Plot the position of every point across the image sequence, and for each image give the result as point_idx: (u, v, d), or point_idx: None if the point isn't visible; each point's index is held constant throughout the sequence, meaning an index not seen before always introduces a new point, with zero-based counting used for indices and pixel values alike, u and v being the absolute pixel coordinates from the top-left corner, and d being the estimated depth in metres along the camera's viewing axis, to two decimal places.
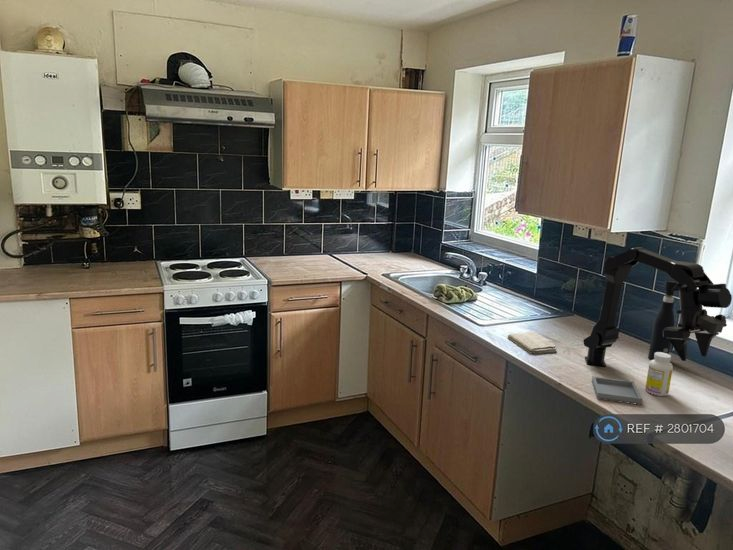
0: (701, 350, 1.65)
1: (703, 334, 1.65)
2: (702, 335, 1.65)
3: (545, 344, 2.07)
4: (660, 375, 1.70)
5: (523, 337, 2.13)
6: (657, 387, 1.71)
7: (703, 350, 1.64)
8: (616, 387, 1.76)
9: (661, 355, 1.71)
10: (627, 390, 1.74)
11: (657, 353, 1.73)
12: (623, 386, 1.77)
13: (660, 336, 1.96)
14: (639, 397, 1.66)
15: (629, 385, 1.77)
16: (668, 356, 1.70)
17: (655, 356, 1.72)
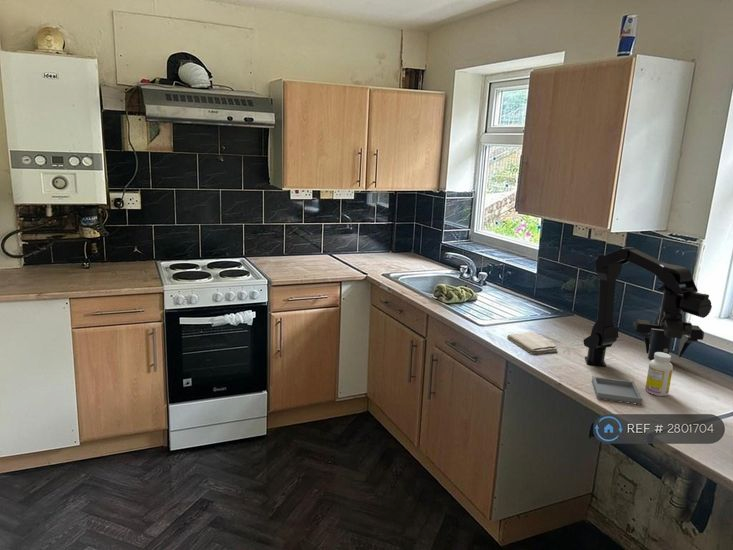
0: (679, 350, 1.71)
1: (684, 337, 1.69)
2: (683, 337, 1.69)
3: (545, 344, 2.07)
4: (660, 375, 1.70)
5: (523, 337, 2.13)
6: (657, 387, 1.71)
7: (679, 351, 1.70)
8: (616, 387, 1.76)
9: (661, 355, 1.71)
10: (627, 390, 1.74)
11: (657, 353, 1.73)
12: (623, 386, 1.77)
13: (660, 336, 1.96)
14: (639, 397, 1.66)
15: (629, 385, 1.77)
16: (668, 356, 1.70)
17: (655, 356, 1.72)
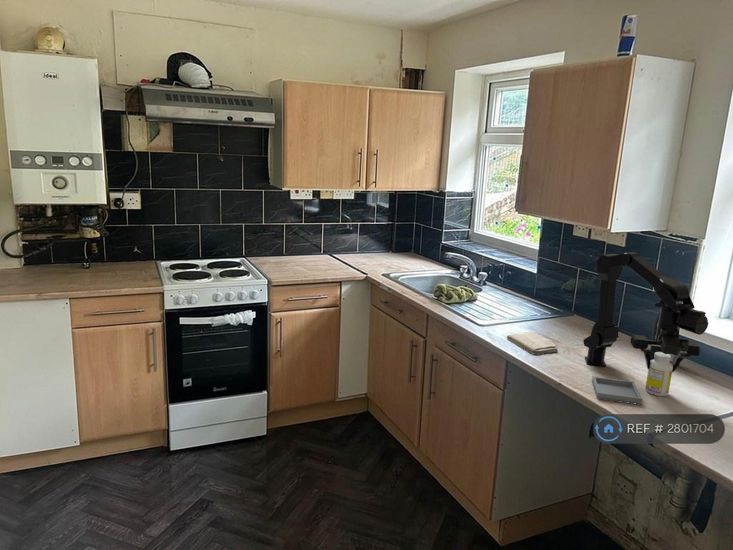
0: None
1: None
2: None
3: (546, 344, 2.07)
4: (660, 375, 1.70)
5: (522, 337, 2.13)
6: (657, 387, 1.71)
7: None
8: (616, 387, 1.76)
9: (661, 355, 1.71)
10: (627, 390, 1.74)
11: (657, 353, 1.73)
12: (623, 386, 1.77)
13: None
14: (639, 397, 1.66)
15: (629, 385, 1.77)
16: (668, 356, 1.70)
17: (655, 356, 1.72)
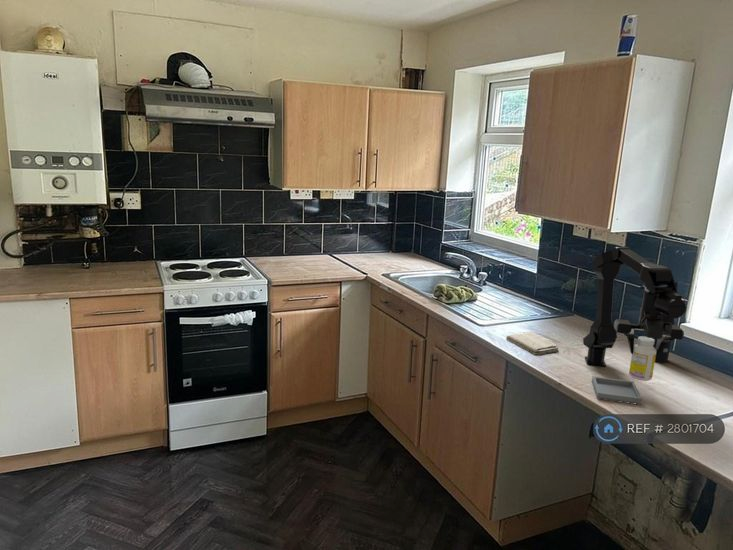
0: None
1: None
2: None
3: (546, 344, 2.07)
4: (643, 360, 1.68)
5: (522, 337, 2.12)
6: (641, 372, 1.69)
7: (656, 350, 1.70)
8: (616, 387, 1.76)
9: (644, 339, 1.69)
10: (627, 390, 1.74)
11: (640, 337, 1.70)
12: (623, 386, 1.77)
13: None
14: (639, 397, 1.66)
15: (629, 385, 1.77)
16: (651, 340, 1.68)
17: (638, 340, 1.69)
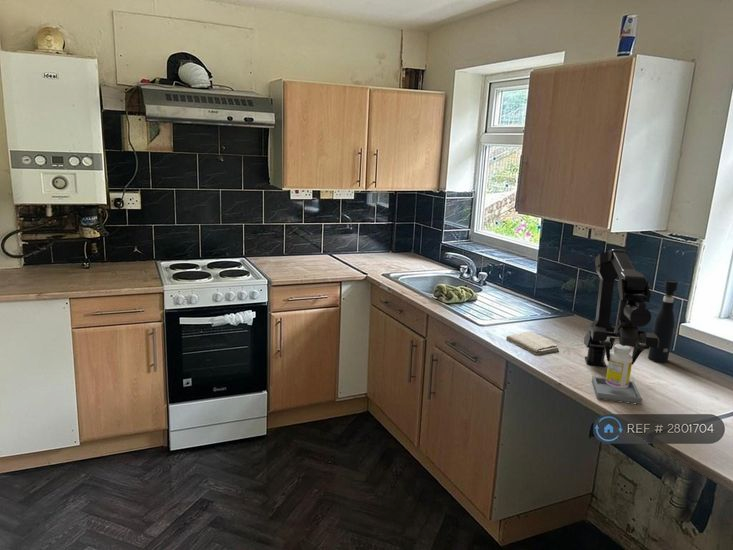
0: (632, 358, 1.70)
1: (637, 344, 1.68)
2: (636, 344, 1.69)
3: (547, 344, 2.07)
4: (619, 367, 1.68)
5: (522, 337, 2.12)
6: (617, 380, 1.69)
7: (632, 358, 1.70)
8: None
9: (621, 347, 1.69)
10: (627, 390, 1.74)
11: (617, 345, 1.70)
12: None
13: (660, 336, 1.96)
14: (639, 397, 1.66)
15: (629, 385, 1.77)
16: (627, 348, 1.68)
17: (615, 348, 1.69)
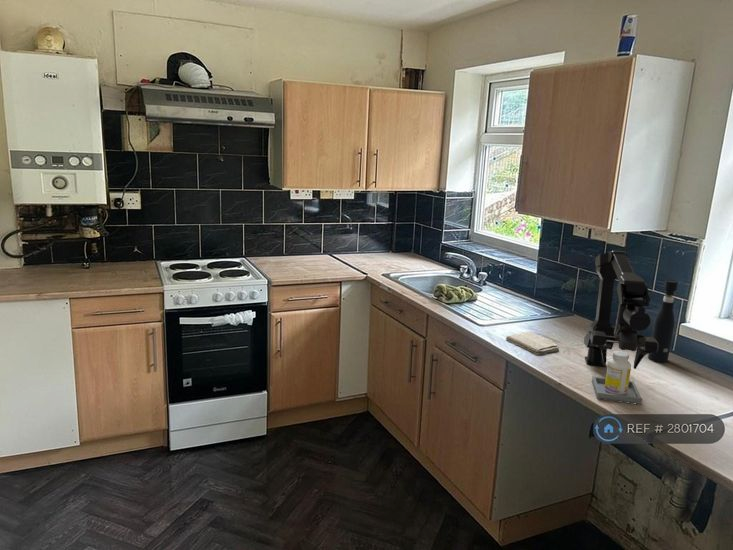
0: (634, 362, 1.70)
1: (639, 349, 1.68)
2: (638, 349, 1.69)
3: (547, 343, 2.07)
4: (618, 374, 1.69)
5: (522, 338, 2.12)
6: (616, 386, 1.70)
7: (634, 362, 1.70)
8: None
9: (619, 354, 1.69)
10: None
11: (615, 352, 1.71)
12: None
13: (660, 336, 1.96)
14: (639, 397, 1.66)
15: (629, 385, 1.77)
16: (626, 355, 1.69)
17: (613, 355, 1.70)
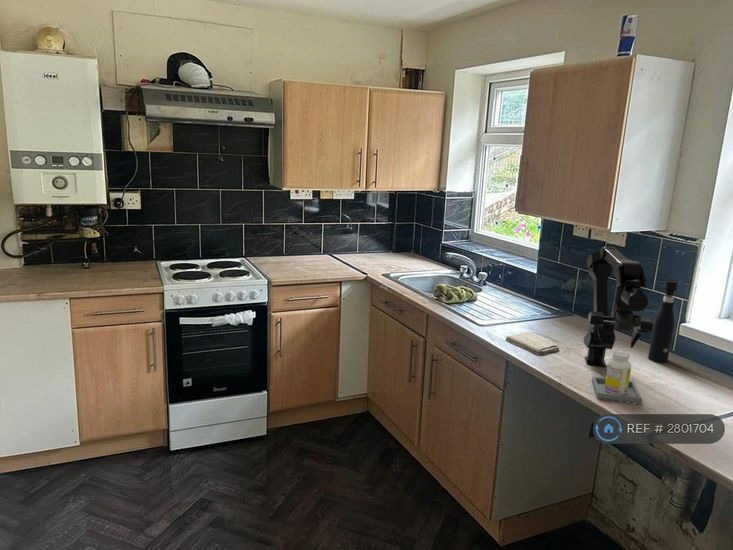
0: (631, 341, 1.78)
1: (636, 329, 1.76)
2: (635, 329, 1.76)
3: (547, 343, 2.07)
4: (618, 374, 1.69)
5: (522, 338, 2.12)
6: (616, 386, 1.70)
7: (631, 342, 1.77)
8: None
9: (619, 354, 1.69)
10: None
11: (616, 352, 1.71)
12: None
13: (660, 336, 1.96)
14: (639, 397, 1.66)
15: (629, 385, 1.77)
16: (626, 355, 1.69)
17: (613, 355, 1.70)
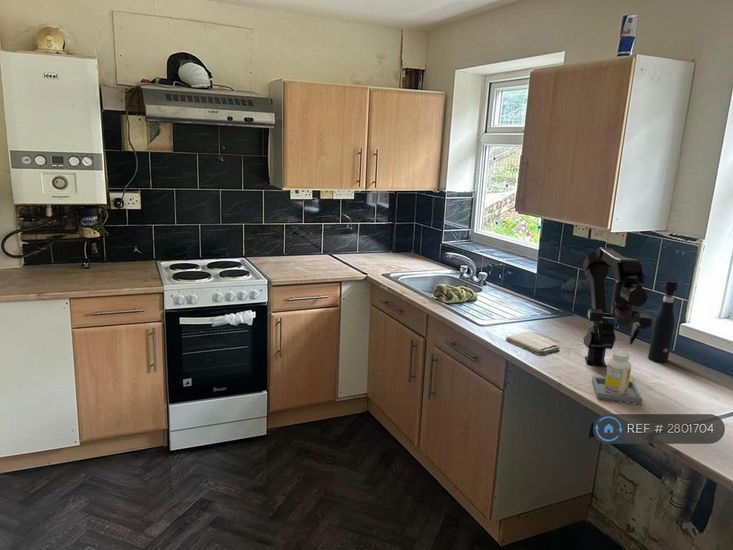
0: (630, 338, 1.79)
1: (635, 325, 1.78)
2: (634, 325, 1.78)
3: (547, 343, 2.07)
4: (618, 374, 1.69)
5: (522, 338, 2.12)
6: (616, 386, 1.70)
7: (630, 338, 1.79)
8: None
9: (619, 354, 1.69)
10: None
11: (616, 352, 1.71)
12: None
13: (660, 336, 1.96)
14: (639, 397, 1.66)
15: (629, 385, 1.77)
16: (626, 355, 1.69)
17: (613, 355, 1.70)
